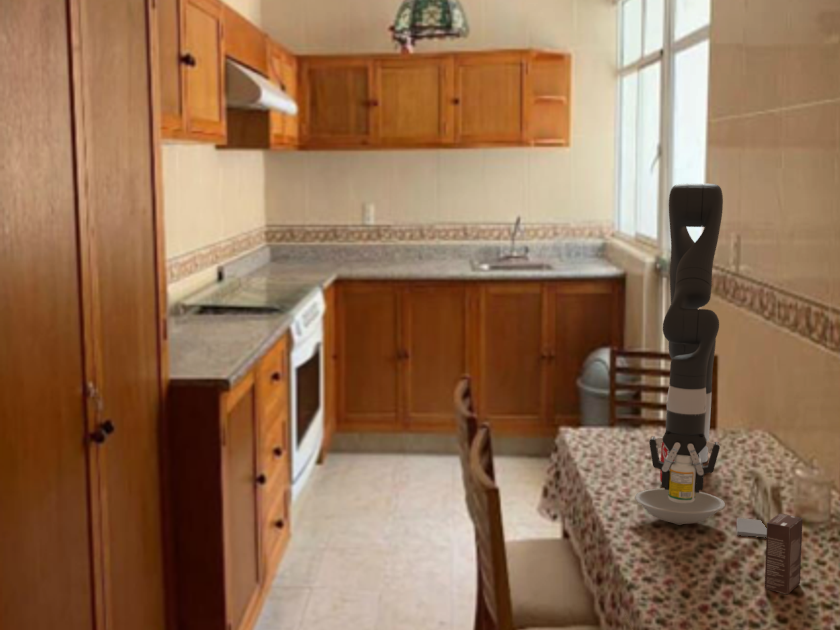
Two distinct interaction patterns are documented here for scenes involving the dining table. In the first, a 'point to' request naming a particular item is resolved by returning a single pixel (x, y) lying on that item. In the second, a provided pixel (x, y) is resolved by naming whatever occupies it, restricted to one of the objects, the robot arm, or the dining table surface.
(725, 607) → the dining table surface
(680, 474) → the supplement bottle
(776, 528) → the box
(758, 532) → the slate coaster
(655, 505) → the dish
